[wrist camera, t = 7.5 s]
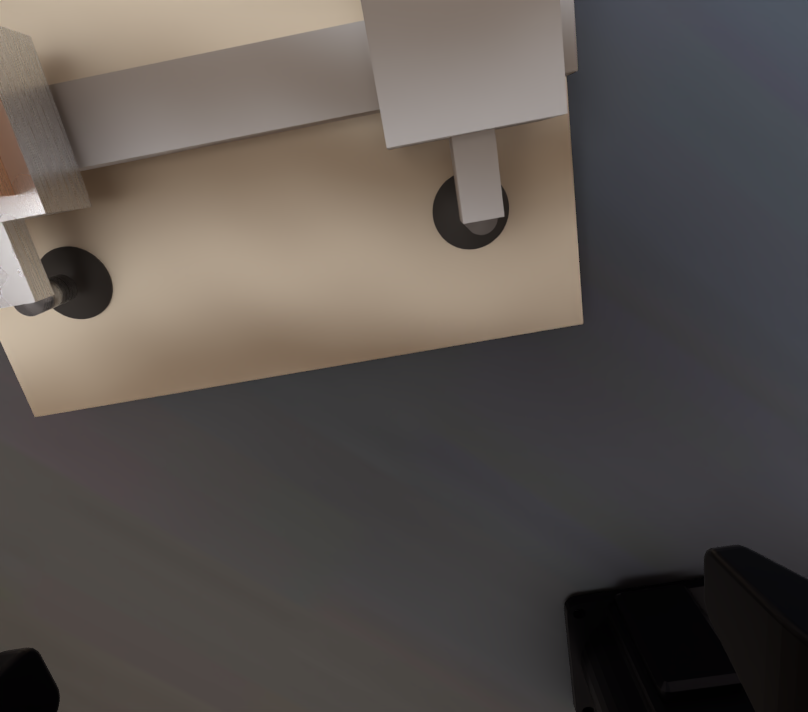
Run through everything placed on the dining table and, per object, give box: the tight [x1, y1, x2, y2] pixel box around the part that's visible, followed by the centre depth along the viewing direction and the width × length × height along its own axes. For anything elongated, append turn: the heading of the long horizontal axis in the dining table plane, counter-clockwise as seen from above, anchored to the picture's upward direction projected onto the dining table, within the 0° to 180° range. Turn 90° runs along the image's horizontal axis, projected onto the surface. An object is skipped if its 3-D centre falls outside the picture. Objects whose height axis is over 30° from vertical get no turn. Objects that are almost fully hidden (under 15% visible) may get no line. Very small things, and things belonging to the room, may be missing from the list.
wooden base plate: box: [0, 0, 583, 417], centre depth 14 cm, size 12×18×4 cm, turn 100°
